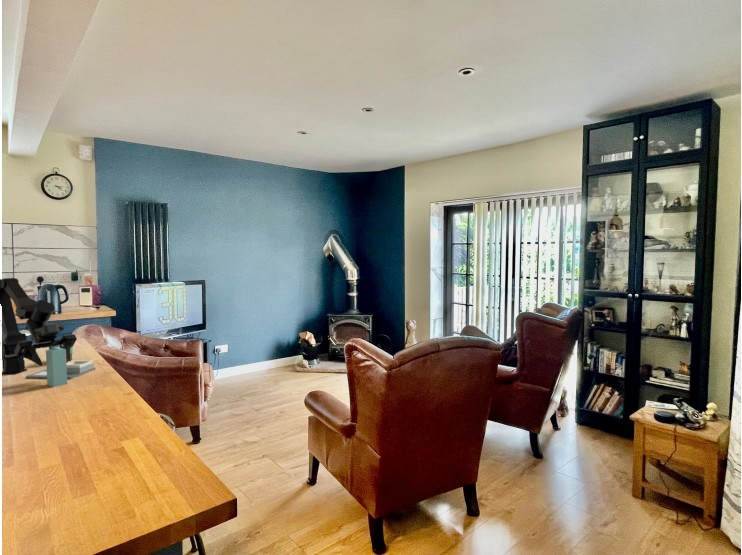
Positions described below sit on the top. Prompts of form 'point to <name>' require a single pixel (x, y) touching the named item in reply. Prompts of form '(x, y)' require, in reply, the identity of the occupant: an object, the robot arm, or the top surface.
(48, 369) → the pillar
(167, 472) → the top surface
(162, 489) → the top surface
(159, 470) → the top surface
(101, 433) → the top surface
